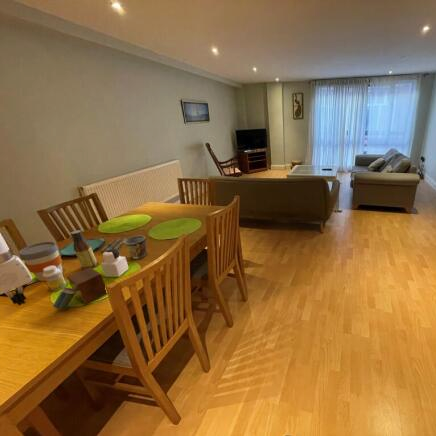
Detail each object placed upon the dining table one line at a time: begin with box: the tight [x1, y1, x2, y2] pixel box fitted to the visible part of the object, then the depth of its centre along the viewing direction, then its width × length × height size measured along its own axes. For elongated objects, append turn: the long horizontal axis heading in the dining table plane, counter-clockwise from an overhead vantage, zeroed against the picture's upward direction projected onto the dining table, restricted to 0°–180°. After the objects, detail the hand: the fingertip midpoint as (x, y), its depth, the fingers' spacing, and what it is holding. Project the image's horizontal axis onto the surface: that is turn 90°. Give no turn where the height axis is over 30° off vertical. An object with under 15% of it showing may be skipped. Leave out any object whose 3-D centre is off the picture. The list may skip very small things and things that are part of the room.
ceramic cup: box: [123, 235, 147, 260], centre depth 129 cm, size 13×10×10 cm
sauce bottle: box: [70, 229, 98, 270], centre depth 118 cm, size 6×6×20 cm
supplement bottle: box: [43, 266, 67, 291], centre depth 105 cm, size 6×6×10 cm
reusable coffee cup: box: [18, 241, 64, 282], centre depth 113 cm, size 13×13×15 cm
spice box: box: [66, 267, 108, 305], centre depth 100 cm, size 8×10×10 cm
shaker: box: [52, 287, 76, 310], centre depth 94 cm, size 8×4×8 cm, turn 150°
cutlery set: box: [58, 237, 127, 258], centre depth 139 cm, size 20×30×2 cm, turn 101°
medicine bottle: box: [100, 248, 130, 278], centre depth 115 cm, size 7×7×12 cm
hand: (21, 302), depth 84 cm, fingers closed
